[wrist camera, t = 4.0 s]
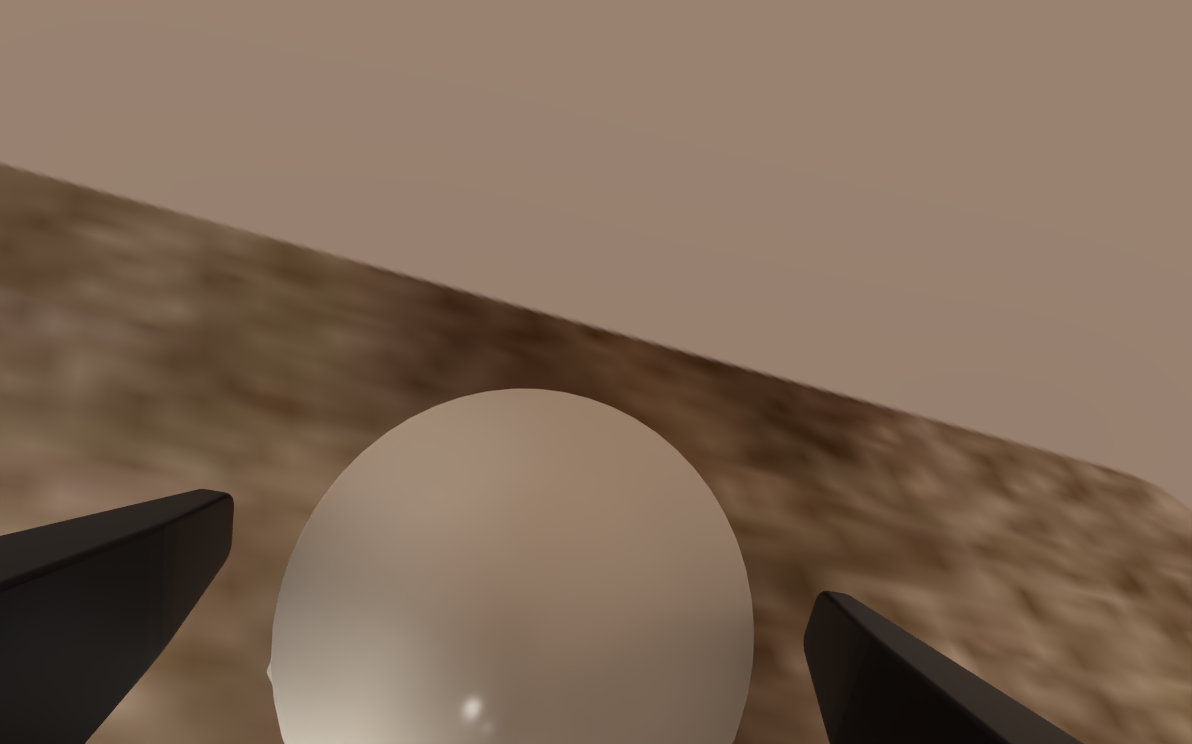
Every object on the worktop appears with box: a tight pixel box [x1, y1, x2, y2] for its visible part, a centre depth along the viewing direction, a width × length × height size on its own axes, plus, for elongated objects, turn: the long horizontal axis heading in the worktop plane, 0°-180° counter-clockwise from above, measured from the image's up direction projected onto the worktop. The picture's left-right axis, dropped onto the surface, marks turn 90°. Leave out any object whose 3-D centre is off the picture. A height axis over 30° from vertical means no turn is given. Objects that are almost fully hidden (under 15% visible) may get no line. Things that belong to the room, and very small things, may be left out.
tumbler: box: [267, 389, 754, 744], centre depth 13 cm, size 7×7×10 cm
